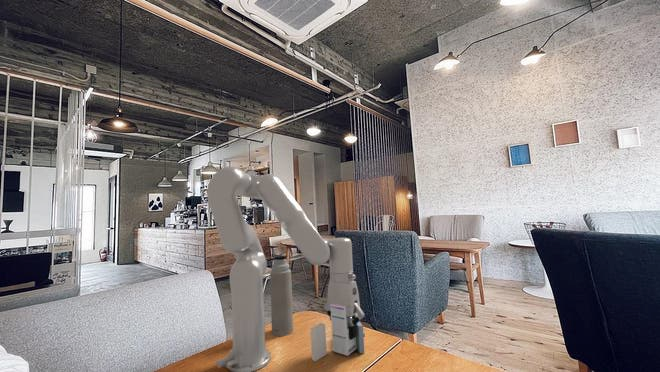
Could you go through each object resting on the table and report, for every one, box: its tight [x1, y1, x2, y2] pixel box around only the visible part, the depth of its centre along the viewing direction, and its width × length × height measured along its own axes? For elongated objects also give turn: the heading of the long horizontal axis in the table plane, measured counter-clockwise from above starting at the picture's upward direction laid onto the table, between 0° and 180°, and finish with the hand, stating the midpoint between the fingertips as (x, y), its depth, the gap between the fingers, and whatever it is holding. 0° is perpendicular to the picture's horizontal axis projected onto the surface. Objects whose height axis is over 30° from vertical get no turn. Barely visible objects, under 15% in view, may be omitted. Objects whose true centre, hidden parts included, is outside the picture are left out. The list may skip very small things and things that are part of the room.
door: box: [356, 321, 366, 354], centre depth 91 cm, size 13×2×9 cm, turn 13°
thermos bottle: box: [269, 255, 294, 337], centre depth 105 cm, size 8×8×28 cm
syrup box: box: [330, 304, 358, 356], centre depth 87 cm, size 6×6×14 cm
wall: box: [310, 313, 358, 362], centre depth 91 cm, size 23×2×9 cm, turn 141°
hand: (344, 334), depth 86 cm, fingers closed on syrup box, 5 cm apart
